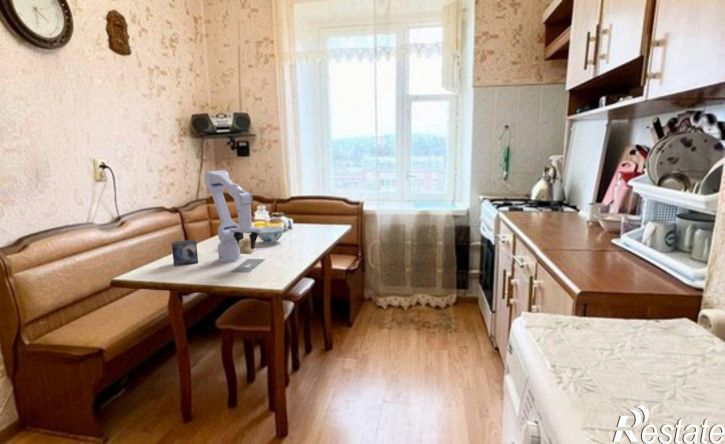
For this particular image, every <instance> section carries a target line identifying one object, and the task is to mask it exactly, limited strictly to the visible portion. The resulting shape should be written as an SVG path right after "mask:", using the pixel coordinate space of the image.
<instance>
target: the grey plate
mask: <svg viewBox="0 0 725 444" xmlns="http://www.w3.org/2000/svg"><path fill="white" fill-rule="evenodd" d="M265 260H267V259H266V258H247V259H246V260H245V261H243V262H242V263H240V264H239V265H237V266H236V267H234V268H233V269H231V270H230V271H229V273H241V274H243V273H249V274H250V273H251V272H252V271H253V270H255V269H256V268H257V267H258V266H259V265H260V264H262V263H263V262H265Z"/></svg>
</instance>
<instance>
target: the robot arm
mask: <svg viewBox="0 0 725 444" xmlns="http://www.w3.org/2000/svg"><path fill="white" fill-rule="evenodd" d="M229 175H230V174H229V172H228V171H227V170H226V169H221V170H207V171H205V173H204V183H205V185H206V188H207V190H208V191H210V193H211V195H212V196H211V197H212V199H213V202H214V205H215V208H216V212H217V214H218V217H219V220H220V225H219V226H218V227H217V234H218V235H217V236H218V240H219V241H220V242H219V243H218V246H217V255H218V260H217V262H223V263H224V262H226V263H227V262H230V263H231V262H232V263H233V262H234V263H236V262H239V261H240V260H242V259H243V258H244V256H242V255H241V254H240V248H239V241H240V240H242V239H243V237H244V234H249V236H248V237H249V238H250V240H251V249H254V248H256V242H257V238H258V237H259V236H258V234H261V233H262V229H261V228H262V227H257V228H256V227H253V222H252V209H251V208H252V207H251V205H252V204H253V202H254V200H253V199H254V198H253V195H252V193H251V192H250V191H245V190H244V189H243V188H242V187H241V186H240V185H239V184H238V183H234V182H233V181H232V180H231V179H230V176H229ZM225 189H227V193H228V194H229V195H230V196H231V197H232V198H233V200H234V202H233V203H234V204H235V210H237V219H238V221H237V222H238V223H237V222H235V221H234V220H232V216H231V213H230V211H229V208H228V204H227V201H226V198H225V196H224V194H223V193H224V192H223V191H224V190H225Z"/></svg>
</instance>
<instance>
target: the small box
mask: <svg viewBox="0 0 725 444" xmlns="http://www.w3.org/2000/svg"><path fill="white" fill-rule="evenodd" d="M197 245H198V244H197V240H196V239H187V240H178V241H172V242H171V251H172V260H173V265H174V267H179V266H180V267H181V266H185V265H186V266H187V265H194V264H199V257H198V246H197Z"/></svg>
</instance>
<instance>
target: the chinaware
mask: <svg viewBox="0 0 725 444" xmlns="http://www.w3.org/2000/svg"><path fill="white" fill-rule="evenodd" d="M260 228H261V229H262V233H261V234H258V236H257V237H259V239H260V240H261V241H263V242H264V244H268V245H272V244H277V242H278V240H279V239H281V237H282V236H283V233H284V227H282V226H276V225H275V226H273V225H271V226H261V227H260Z"/></svg>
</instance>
